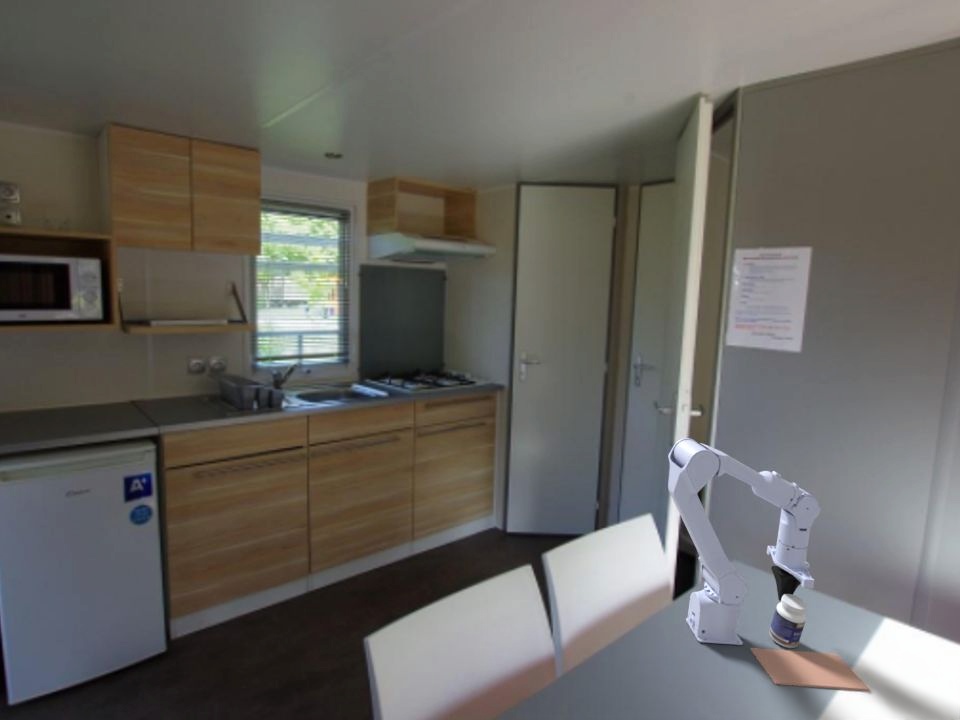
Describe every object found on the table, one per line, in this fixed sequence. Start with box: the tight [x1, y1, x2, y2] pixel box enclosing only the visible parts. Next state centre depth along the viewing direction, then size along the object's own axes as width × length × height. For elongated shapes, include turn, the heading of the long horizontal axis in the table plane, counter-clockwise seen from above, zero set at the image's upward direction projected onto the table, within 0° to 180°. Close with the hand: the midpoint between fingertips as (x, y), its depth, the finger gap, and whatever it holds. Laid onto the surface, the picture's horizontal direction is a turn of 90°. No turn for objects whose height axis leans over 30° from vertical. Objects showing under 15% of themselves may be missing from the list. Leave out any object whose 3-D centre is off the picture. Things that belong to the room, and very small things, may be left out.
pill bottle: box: [768, 594, 808, 649], centre depth 115 cm, size 6×6×10 cm
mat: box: [749, 647, 871, 692], centre depth 107 cm, size 18×10×1 cm, turn 89°
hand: (784, 601), depth 117 cm, fingers closed
